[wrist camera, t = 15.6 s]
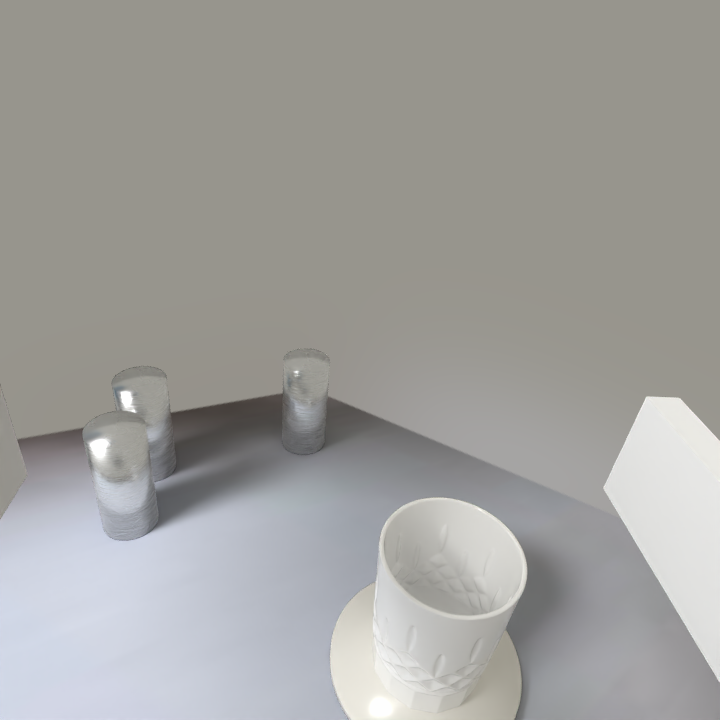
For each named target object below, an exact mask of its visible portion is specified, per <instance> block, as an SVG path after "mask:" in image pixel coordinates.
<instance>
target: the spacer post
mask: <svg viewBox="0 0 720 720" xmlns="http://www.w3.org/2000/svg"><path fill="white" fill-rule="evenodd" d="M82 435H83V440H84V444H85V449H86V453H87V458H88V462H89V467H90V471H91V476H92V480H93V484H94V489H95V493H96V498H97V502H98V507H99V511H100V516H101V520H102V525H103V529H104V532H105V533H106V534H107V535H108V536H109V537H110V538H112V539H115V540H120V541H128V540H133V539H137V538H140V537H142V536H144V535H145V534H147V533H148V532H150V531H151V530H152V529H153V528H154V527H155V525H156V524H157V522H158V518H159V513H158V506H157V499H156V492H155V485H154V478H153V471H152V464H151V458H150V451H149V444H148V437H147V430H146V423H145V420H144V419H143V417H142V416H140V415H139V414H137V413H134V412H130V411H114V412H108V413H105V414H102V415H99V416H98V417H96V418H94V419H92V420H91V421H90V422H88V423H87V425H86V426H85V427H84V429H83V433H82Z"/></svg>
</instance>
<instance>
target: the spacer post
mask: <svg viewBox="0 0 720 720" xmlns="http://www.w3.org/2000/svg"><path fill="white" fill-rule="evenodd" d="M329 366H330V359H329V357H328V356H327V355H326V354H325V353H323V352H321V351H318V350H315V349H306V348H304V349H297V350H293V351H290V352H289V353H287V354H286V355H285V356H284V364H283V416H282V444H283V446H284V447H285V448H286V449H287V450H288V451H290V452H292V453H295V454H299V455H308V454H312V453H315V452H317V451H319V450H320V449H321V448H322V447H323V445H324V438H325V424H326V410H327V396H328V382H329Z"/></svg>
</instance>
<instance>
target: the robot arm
mask: <svg viewBox="0 0 720 720" xmlns="http://www.w3.org/2000/svg"><path fill="white" fill-rule="evenodd" d="M27 475H28V474H27V471H26V468H25V464H24V461H23V458H22V455H21V451H20V448H19V445H18V441H17V438H16V435H15V432H14V428H13V425H12V422H11V418H10V415H9V412H8V409H7V405H6V402H5V399H4V395H3V392H2V389H1V385H0V519H1V517H2V516H3V514H4V512H5V511H6V509H7V508H8V506H9V504H10V503H11V501H12V499H13V498H14V496H15V494H16V493H17V491H18V490H19V488H20V486H21V485H22V483H23V481H24V480H25V478H26V477H27ZM604 490H605V492H606V494H607V495H608V497H609V498H610V500H611V502H612V504H613V505H614V507H615V508H616V510H617V512H618V514H619V515H620V517H621V519H622V520H623V522H624V524H625V525H626V527H627V529H628V530H629V532H630V534H631V535H632V537H633V539H634V540H635V542H636V544H637V545H638V547H639V549H640V550H641V552H642V554H643V555H644V557H645V559H646V560H647V562H648V564H649V565H650V567H651V569H652V570H653V572H654V574H655V575H656V577H657V579H658V580H659V582H660V584H661V585H662V587H663V589H664V591H665V592H666V594H667V596H668V597H669V599H670V601H671V602H672V604H673V606H674V607H675V609H676V611H677V612H678V614H679V616H680V617H681V619H682V621H683V622H684V624H685V626H686V627H687V629H688V631H689V632H690V634H691V636H692V637H693V639H694V641H695V642H696V644H697V646H698V647H699V649H700V651H701V652H702V654H703V656H704V657H705V659H706V661H707V662H708V664H709V666H710V667H711V669H712V671H713V672H714V674H715V676H716V677H717V679H718V681H719V682H720V441H719V440H718V439H717V438H716V437H715V436H714V434H712V432H711V431H710V430H709V429H708V428H707V427H706V426H705V425H704V424H703V423H702V422H701V420H699V418H698V417H697V416H696V415H695V414H694V413H693V412H692V411H691V410H690V409H689V408H688V407H687V405H686V404H685V403H684V402H683V401H682V400H681V399H680V398H668V397H646V399H645V401H644V403H643V405H642V407H641V409H640V411H639V414H638V416H637V418H636V420H635V422H634V424H633V426H632V428H631V430H630V433H629V435H628V437H627V439H626V441H625V443H624V445H623V447H622V450H621V452H620V454H619V456H618V458H617V460H616V462H615V464H614V466H613V469H612V471H611V473H610V475H609V477H608V479H607V481H606V483H605V485H604Z"/></svg>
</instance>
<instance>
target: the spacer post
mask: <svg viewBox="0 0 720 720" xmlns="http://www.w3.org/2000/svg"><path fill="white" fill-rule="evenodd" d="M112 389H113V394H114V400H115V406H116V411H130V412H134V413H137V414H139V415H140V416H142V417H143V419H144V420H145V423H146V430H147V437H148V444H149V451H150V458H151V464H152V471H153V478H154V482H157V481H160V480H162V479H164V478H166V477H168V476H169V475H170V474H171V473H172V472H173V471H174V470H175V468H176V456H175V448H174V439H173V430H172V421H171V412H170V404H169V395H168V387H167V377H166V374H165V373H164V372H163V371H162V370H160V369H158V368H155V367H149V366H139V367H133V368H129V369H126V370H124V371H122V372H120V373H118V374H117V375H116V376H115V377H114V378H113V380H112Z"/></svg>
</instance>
